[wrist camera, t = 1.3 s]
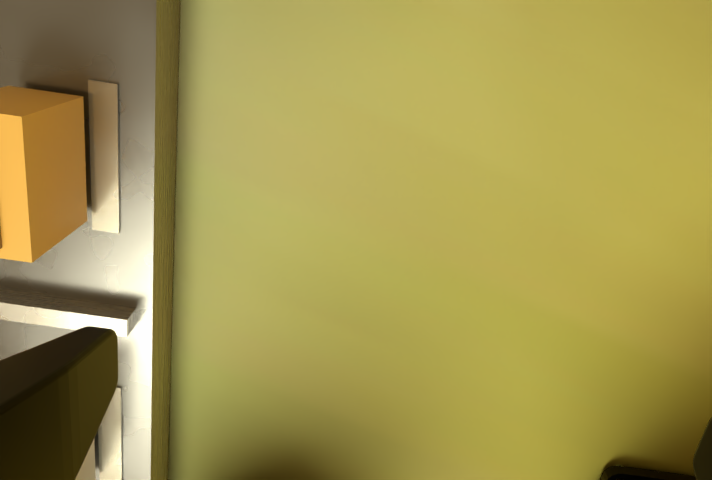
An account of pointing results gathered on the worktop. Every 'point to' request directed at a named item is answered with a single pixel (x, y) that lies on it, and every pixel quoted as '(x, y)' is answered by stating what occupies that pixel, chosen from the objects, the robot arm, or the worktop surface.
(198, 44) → the worktop surface
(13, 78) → the breaker panel
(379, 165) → the worktop surface
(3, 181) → the amber toggle
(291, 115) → the worktop surface
